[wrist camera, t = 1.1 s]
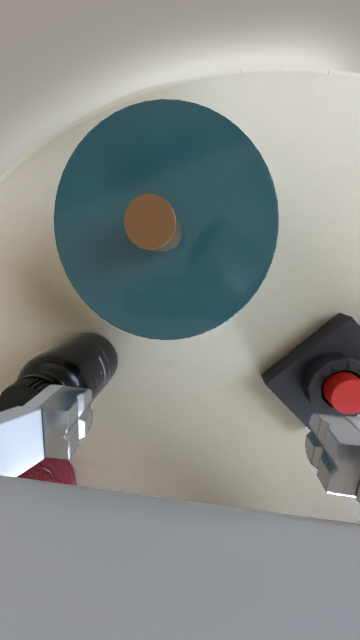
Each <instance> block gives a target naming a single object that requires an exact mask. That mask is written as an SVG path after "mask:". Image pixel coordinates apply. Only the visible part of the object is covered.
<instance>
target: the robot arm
mask: <svg viewBox="0 0 360 640" xmlns="http://www.w3.org/2000/svg"><path fill="white" fill-rule="evenodd" d="M91 401H92V391H91V390H90V389H87V388H79V387H71V386H64V385H49V386H48V387H46V388H45V389H44V390H43V391H41V392H40V393H39V394H37V395H36V396H35V397H34V398H32V399H31V400H30V401H29V402H27V403H26V404H25V405H24V406H22V407H21V406H17V407H14V408H11V409H8V410H5V411H2V412H0V640H360V524H355V523H348V522H340V521H333V520H326V519H318V518H311V517H303V516H296V515H289V514H281V513H274V512H267V511H259V510H252V509H245V508H237V507H230V506H223V505H215V504H208V503H201V502H193V501H186V500H179V499H171V498H164V497H157V496H149V495H142V494H135V493H127V492H120V491H113V490H106V489H98V488H91V487H84V486H76V485H69V484H62V483H54V482H47V481H40V480H32V479H25V478H18V477H17V476H19V475H20V474H22V473H23V472H25V471H26V470H28V469H29V468H31V467H33V466H34V465H36V464H37V463H39V462H40V461H42V460H43V459H44V457H47V458H57V459H67V460H69V459H70V458H71V457H72V455H73V454H74V452H75V451H76V449H77V448H78V446H79V439H81V438H83V437H85V436H86V434H87V433H88V431H89V429H90V426H91V423H92V417H93V410H92V409H91V407H90V406H89V403H90V402H91ZM309 425H310V427H311V428H312V430H311V431H310V432H309V433H308V434H307V435H306V441H305V448H306V454H307V457H308V459H309V461H310V463H311V464H312V465H313V466H314V467H315V468H317V469H318V472H317V476H318V478H319V480H320V482H321V483H322V485H323V487H324V489H325V491H326V493H330V494H336V495H343V496H349V497H355V498H356V500H357V501H358V502H360V418H359V417H352V416H339V415H327V414H312V416H311V417H310V421H309Z"/></svg>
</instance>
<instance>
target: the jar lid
mask: <svg viewBox="0 0 360 640" xmlns="http://www.w3.org/2000/svg"><path fill="white" fill-rule="evenodd" d="M54 228H55V237H56V244H57V249H58V252H59V256H60V259H61V262H62V265H63V267H64V269H65V272H66V274H67V276H68V278H69V280H70V282H71V283H72V285H73V287H74V288H75V290H76V291H77V293H78V294H79V295H80V297H81V298H82V299H83V300H84V301H85V303H86V304H87V305H88V306H89V307H90V308H91V309H92V310H93V311H94V312H96V313H97V314H98V315H99V316H100V317H101V318H103V319H104V320H106V321H107V322H109V323H110V324H112V325H114V326H116V327H118V328H119V329H121V330H123V331H126V332H128V333H131V334H134V335H137V336H141V337H145V338H150V339H160V340H175V339H183V338H189V337H193V336H196V335H200V334H203V333H205V332H208V331H210V330H212V329H214V328H216V327H218V326H220V325H221V324H223V323H225V322H226V321H228V320H229V319H230V318H232V317H233V316H234V315H236V314H237V313H238V312H239V311H240V310H241V309H242V308H243V307H244V306H245V305H246V304H247V303H248V302H249V301H250V300H251V298H252V297H253V296H254V294H255V293H256V292H257V291H258V289H259V287H260V285H261V284H262V282H263V280H264V279H265V277H266V275H267V272H268V270H269V268H270V265H271V263H272V260H273V256H274V253H275V249H276V244H277V238H278V229H279V212H278V202H277V196H276V192H275V187H274V183H273V180H272V178H271V175H270V172H269V170H268V167H267V165H266V163H265V161H264V160H263V158H262V156H261V154H260V152H259V151H258V150H257V148H256V147H255V145H254V144H253V143H252V141H251V140H250V139H249V138H248V137H247V136H246V135H245V134H244V133H243V132H242V131H241V130H240V129H239V128H238V127H237V126H236V125H235V124H233V123H232V122H231V121H230V120H228V119H227V118H226V117H224V116H222V115H221V114H219V113H217V112H215V111H213V110H211V109H209V108H207V107H204V106H201V105H198V104H195V103H191V102H186V101H181V100H166V99H160V100H152V101H145V102H141V103H138V104H134V105H131V106H128V107H126V108H124V109H121V110H119V111H117V112H115V113H113V114H112V115H110V116H109V117H107V118H106V119H104V120H103V121H101V122H100V123H99V124H98V125H97V126H95V127H94V128H93V129H92V130H91V131H90V132H89V133H88V134H87V135H86V136H85V137H84V139H83V140H82V141H81V142H80V143H79V144H78V146H77V147H76V149H75V151H74V152H73V154H72V155H71V157H70V159H69V161H68V163H67V165H66V167H65V169H64V171H63V174H62V177H61V180H60V183H59V186H58V190H57V195H56V200H55V211H54Z"/></svg>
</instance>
